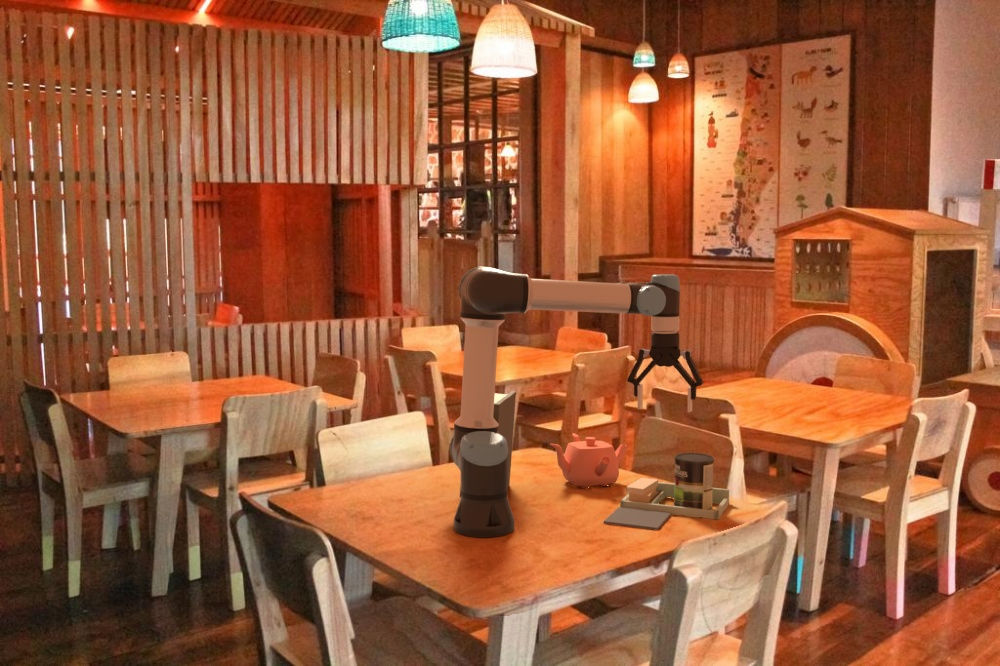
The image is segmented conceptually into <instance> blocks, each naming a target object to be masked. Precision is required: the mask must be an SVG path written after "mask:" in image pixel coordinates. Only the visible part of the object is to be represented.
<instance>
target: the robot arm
mask: <svg viewBox="0 0 1000 666" xmlns="http://www.w3.org/2000/svg"><path fill="white" fill-rule="evenodd" d="M458 286H459V287H458V294H459V298H460V316H459V318H460V320H462V322H463V323H464V325H465V327H464V328H465V332H464V346H463V363H462V364H463V365H462V366H463V367H462V379H461V380H462V385H461V399H460V400H461V402H460V416H459V417H458V418H456V420H454V423H453V434H452V435H453V436H452V438H451V440H450V444H449V452H450V457H451V459H452V461H453V463H454V465H456V466H457V468H458V469H459V471H460V485H461V498H460V500H459V503H458V506H457V510H456V511H455V515H454V519H453V530H454V531H455V533H457V534H459V535H463V536H466V537H472V538H494V537H501V536H505V535H508V534H510V533H512V532H514V530H515V517H514V514H513V510H512V507H511V505H510V502H509V498H508V487H507V470H508V447H507V441H506V439H505V438H504V437H503V436H502V435H500V434H498V426H499V424H498V423H497V422H496V420H495V419H494V418H493V412H494V396H495V393H496V378H497V377H496V376H497V363H498V361H497V360H498V359H497V358H498V346H499V345H498V342H499V329H500V328H499V327H500V326H501V325H502V324H503V323H504V322H505V320H506V314H526V313H527V312H528V311H530V310H533V311H534V310H535V311H537V310H539V311H559V312H560V311H561V312H564V311H565V312H579V313H580V312H584V313H586V312H587V313H604V314H605V313H607V314H628V315H642V316H646V317H648V316H649V317H651V318H650V319H651V320H650V330H651V331H652V332H651V334H650V349H646V348H644V347H643V348H640V349H639V350H638V358H637V359H636V361H635V364H634V365H633V368H632V369H631V371H630V372H629V373H630V374H629V375H628V377H627V379H626V381H627V382H628V383H630V384H632V385H633V396H634V397H637V410H642V409H643V405H644V404H643V401H644V400H643V399H644V398H643V397H644V395H643V392H644V389H643V388H644V387H643V386H644V385H643V384H642V381H643V380H644V379H645V378H646V377H647V375H648V374H649V373H650V372H651V371H652V370H653V369H654V367H655V366H658V367H660V368H661V367H666V368H667V367H668V368H671V367H673V368H674V369H676V370H677V372H678V373H679V374H680V376H681V377H682V378H683V379H684V380H685V381H686V383H687V384H688V387H687V413H691V412H693V401H694V400H696V399H697V388H698V387H700V386H702V385H703V384H704V380H703V378H702V376H701V374H700V371H699V370H698V368H697V366H696V363H695V361H694V359H693V356H692V355H693V354H692V353H693V352H692V351H691V350H690V349H688V350H684V351H681V349H680V333H679V332H678V331H680V324H681V323H680V322H681V321H680V304H681V303H680V300H681V283H680V277H679V276H678V275H677V274H671V273H669V274H667V273H665V274H663V273H661V274H660V273H659V274H653V275H651V279H650V281H648V282H601V281H600V282H599V281H598V282H597V281H596V282H595V281H580V280H561V279H542V278H531V277H530V275H528V274H525V273H523V274H522V273H513V272H508V271H505V270H502V269H498V268H494V267H491V266H477V267H474V268H471V269H469V270H468V271H467V272H466V273H464V275H463V276H462V278H461V279H460V282H459V285H458ZM648 355H649V357H650V358H651V359H652V360H651V361H650V363H648V364H647V366H646V367H645V369H643V370H642V372H641V373H640V374H639V375H638V376H637V374H638V372H639V370H640V367H642V364H643V362H644V360H645V358H647V357H648ZM681 356H682V358H683V359H684V360H685V361H686V363H687V366H688V367H689V370H690V372H691V374H692V376H693V377H692V376H691V375H690V373H689V372H688V371H687V369H685V368H684V366H683V365H682V363H681V361H680V360H679V359H680V357H681ZM636 376H637V378H636Z"/></svg>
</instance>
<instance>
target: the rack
mask: <svg viewBox="0 0 1000 666" xmlns="http://www.w3.org/2000/svg"><path fill="white" fill-rule="evenodd" d="M674 486H675V483H674V482H673V483H671V482H663V481H659V479H657V478H656V479H655V478H647V477H640V478H639V479H635V480H634V482H632V483H631V484H628V485H627V486H626V495H625V496H623V498H622V499H620V504H619V507H624V508H633V509H641V510H650V511H659V512H667V513H671V515H675V514H678V515H677V516H683V515H684V516H685V517H694V518H700V517H702V518H701V519H711V520H719V519H720V517H721V516H722V514H723V513H724V511H726V509H727V507H728V506H729V505H730V488H720V487H713V490H712V504H716V503H717V504H718V506H717V507H716V508H715V510H714V509H712V510H706V509H697V508H688V507H680V506H674V505H669V504H660V503H661V502H662V501H663V500H664V499H665V498H664V497H671V498H674ZM663 498H664V499H663ZM671 498H670V499H671ZM662 499H663V500H662ZM661 500H662V501H661ZM660 501H661V502H660ZM659 502H660V503H659ZM658 503H659V504H658Z"/></svg>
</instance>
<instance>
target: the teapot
mask: <svg viewBox="0 0 1000 666" xmlns="http://www.w3.org/2000/svg"><path fill="white" fill-rule="evenodd" d="M571 436H572V437H573V441H572V442H568V443H567V446H566V449H565V452H564V450H563V448H562V447H561V445H560V444H558V443H557V444H556V443H549V445H550V446H552V447H553V448H554V450H555V452H556V458H557V464H558V466H559V468H560V470H561V471H562V475H563V477H564V479H565V480H566V481H568V482H569V483H570V484H572V485H575V486H579V488H580V487H581V488H580V489H582V488H587V489H589V488H590V486H600V485H602V486H607V485H609V486H610V484H614V483H616V482H617V481H618V479H619V477H620V476H619V475H620V470H619V469H620V468H619V467H620V465H621V462H622V460H623V457H624V456H625V453H626V450H627V449H628V445H626V444H619V446H618V447H617V448H616V450H615V448H614V446H613V445H612V444H611V443H609V442H606V441H603V440H597V438H596V437H595V436H587V437H585V438H584V440H582V441H581V439H580V436H579V435H578V434H577V433H574V432H573V433H572V434H571ZM602 486H601V487H602ZM588 487H589V488H588Z"/></svg>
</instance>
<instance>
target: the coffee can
mask: <svg viewBox="0 0 1000 666" xmlns="http://www.w3.org/2000/svg"><path fill="white" fill-rule="evenodd" d="M714 461H715V458H714V457H713V456H712V455H710V454H707V453H699V452H682V453H678V454H675V455H674V484H675V486H674V499H673V506H680V507H688V508H697V509H706V510H713V503H712V490H713V488H714V487H713V484H714V483H713V482H714V481H713V480H714Z"/></svg>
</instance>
